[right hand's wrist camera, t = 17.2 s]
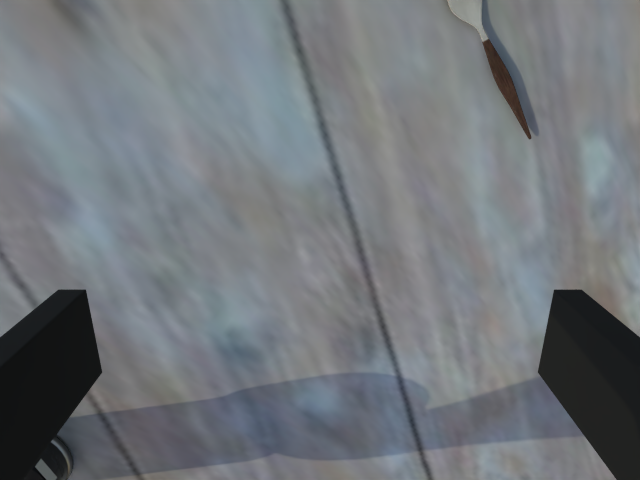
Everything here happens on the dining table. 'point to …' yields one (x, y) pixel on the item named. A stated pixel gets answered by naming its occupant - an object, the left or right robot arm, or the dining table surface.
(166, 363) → the dining table surface
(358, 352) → the dining table surface
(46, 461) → the left robot arm
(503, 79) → the fork
